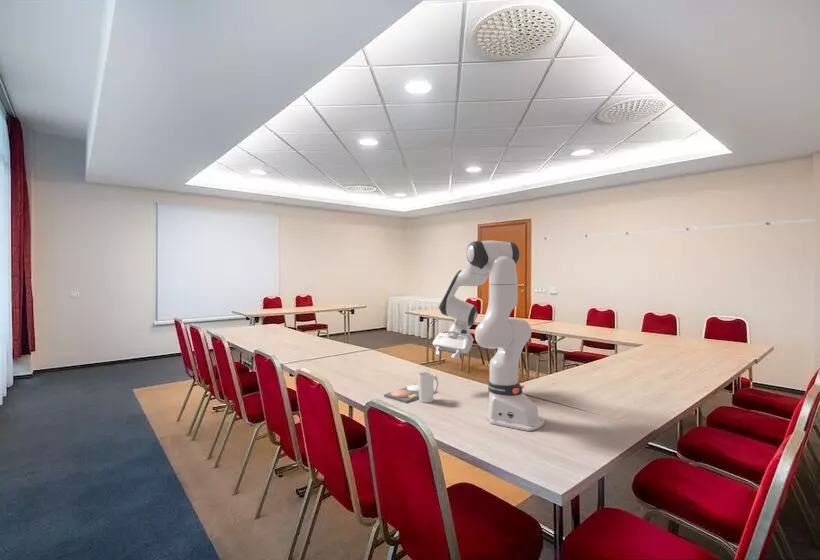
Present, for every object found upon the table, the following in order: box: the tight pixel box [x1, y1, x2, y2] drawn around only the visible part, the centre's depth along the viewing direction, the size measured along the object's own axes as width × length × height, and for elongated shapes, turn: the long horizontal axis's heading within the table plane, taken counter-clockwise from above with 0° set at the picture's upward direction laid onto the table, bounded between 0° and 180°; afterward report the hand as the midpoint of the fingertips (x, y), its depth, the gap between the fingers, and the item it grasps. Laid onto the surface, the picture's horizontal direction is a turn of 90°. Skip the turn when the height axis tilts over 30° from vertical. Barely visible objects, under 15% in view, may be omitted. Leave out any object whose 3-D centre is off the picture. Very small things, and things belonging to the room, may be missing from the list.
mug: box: [417, 371, 439, 404], centre depth 178 cm, size 10×7×12 cm, turn 120°
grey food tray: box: [383, 383, 435, 404], centre depth 187 cm, size 14×22×2 cm, turn 138°
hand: (445, 357), depth 187 cm, fingers open, 8 cm apart
